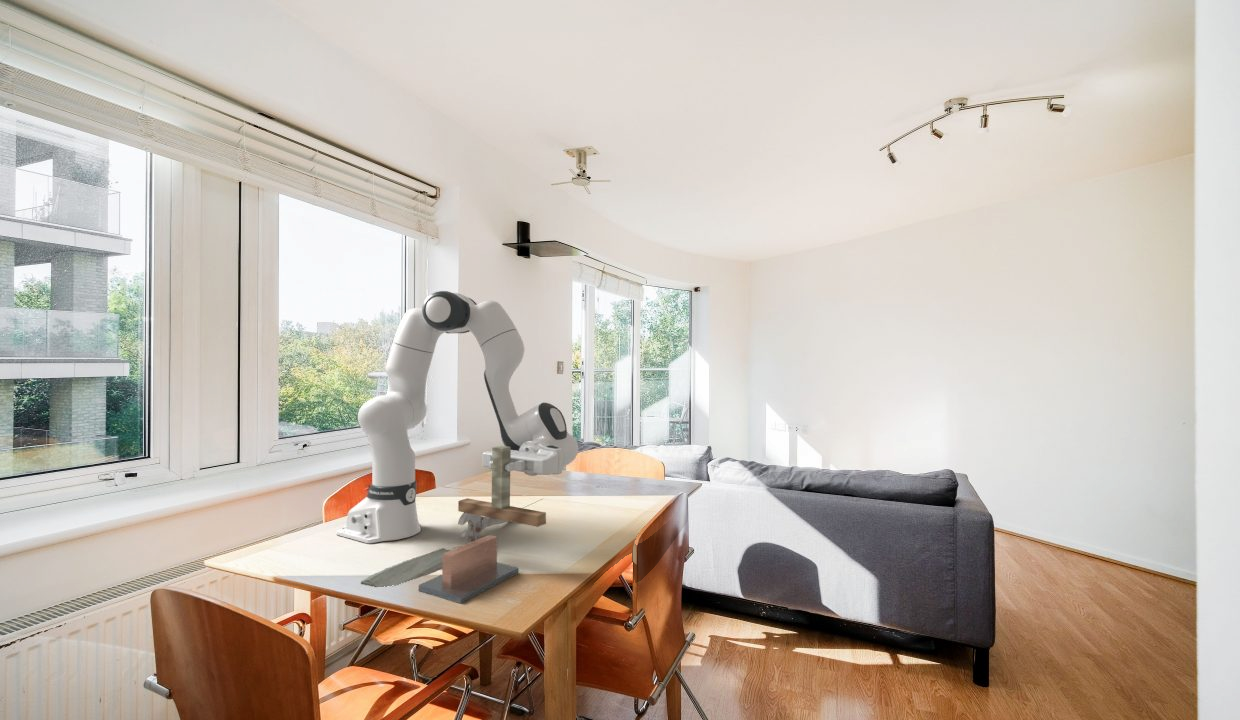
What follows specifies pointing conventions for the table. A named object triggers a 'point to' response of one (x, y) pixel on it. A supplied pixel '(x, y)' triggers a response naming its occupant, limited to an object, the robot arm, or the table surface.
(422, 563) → the stone slab
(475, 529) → the wrench
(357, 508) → the robot arm
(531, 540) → the table surface
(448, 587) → the stand
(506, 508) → the brown t-shaped piece
